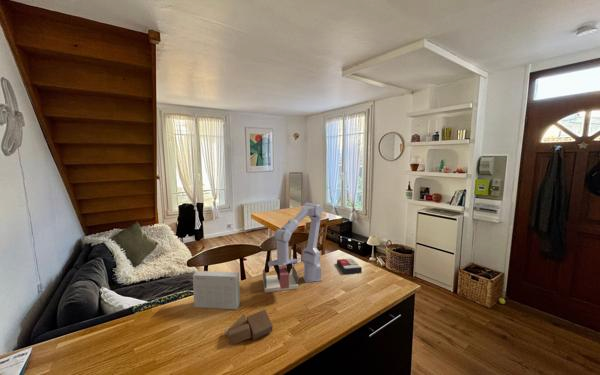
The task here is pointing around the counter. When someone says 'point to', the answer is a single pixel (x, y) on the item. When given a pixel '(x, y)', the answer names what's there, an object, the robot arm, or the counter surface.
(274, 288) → the grey open rack
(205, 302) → the skincare box
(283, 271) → the burgundy book
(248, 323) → the wooden block
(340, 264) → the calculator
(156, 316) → the counter surface
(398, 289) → the counter surface
